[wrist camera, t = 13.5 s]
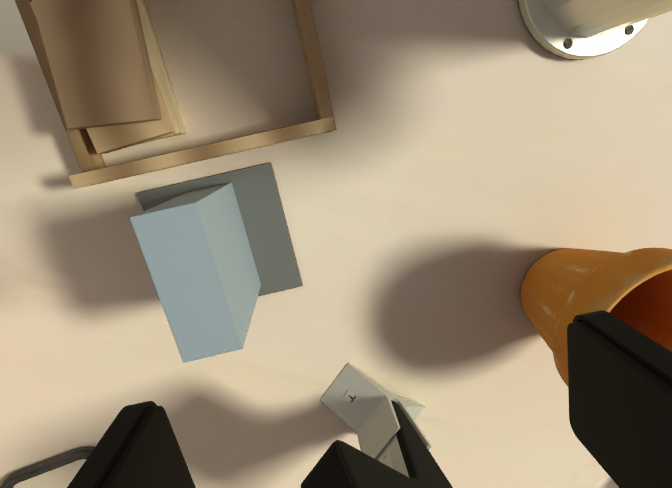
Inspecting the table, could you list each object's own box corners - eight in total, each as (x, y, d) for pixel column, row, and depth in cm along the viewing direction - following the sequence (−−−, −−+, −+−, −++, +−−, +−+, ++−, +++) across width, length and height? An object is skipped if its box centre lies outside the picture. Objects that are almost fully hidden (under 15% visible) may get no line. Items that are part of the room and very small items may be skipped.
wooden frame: (285, -93, 30) (282, -127, 26) (332, 130, 35) (336, 129, 31) (16, -36, 30) (-27, -63, 26) (99, 183, 34) (73, 188, 30)
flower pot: (648, 242, 40) (805, 287, 28) (589, 361, 43) (707, 450, 31) (527, 205, 38) (638, 236, 25) (475, 333, 41) (551, 417, 29)
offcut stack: (142, -24, 30) (116, -51, 26) (191, 135, 34) (175, 134, 29) (47, -4, 30) (5, -28, 26) (106, 154, 34) (77, 156, 29)
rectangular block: (231, 182, 35) (196, 202, 23) (261, 284, 37) (242, 348, 26) (187, 192, 34) (129, 217, 23) (220, 294, 37) (183, 362, 26)
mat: (270, 162, 35) (270, 162, 34) (302, 284, 38) (302, 285, 38) (139, 192, 35) (137, 193, 34) (182, 312, 38) (180, 314, 37)
